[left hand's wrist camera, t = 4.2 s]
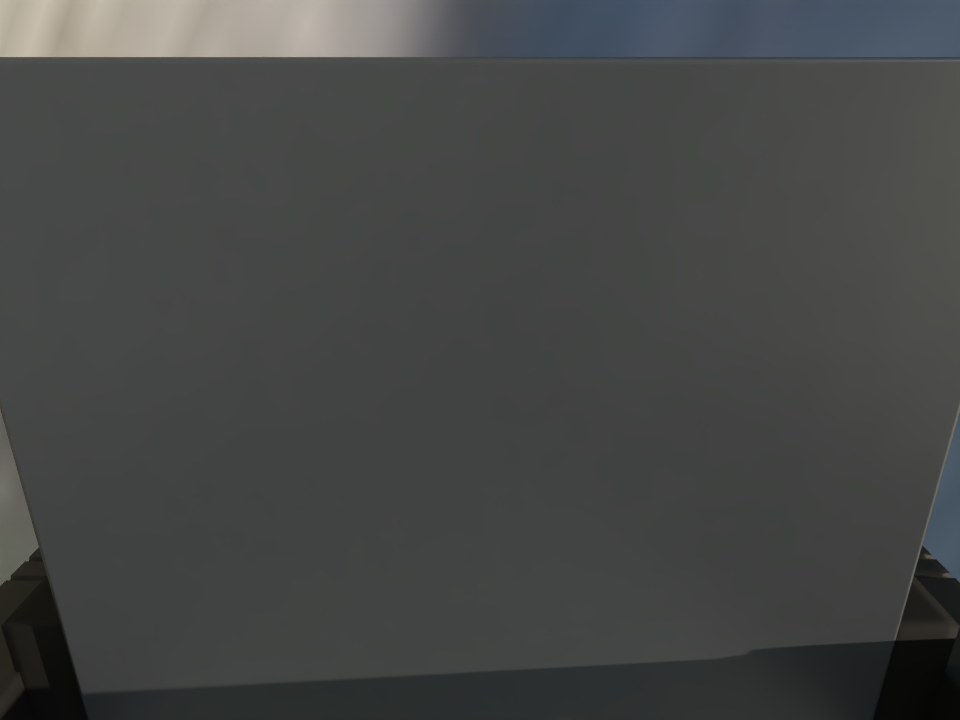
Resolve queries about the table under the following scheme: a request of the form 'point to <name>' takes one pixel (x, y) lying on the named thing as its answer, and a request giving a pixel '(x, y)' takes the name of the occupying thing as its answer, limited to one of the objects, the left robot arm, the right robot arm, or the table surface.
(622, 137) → the wide beam
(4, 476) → the table surface
